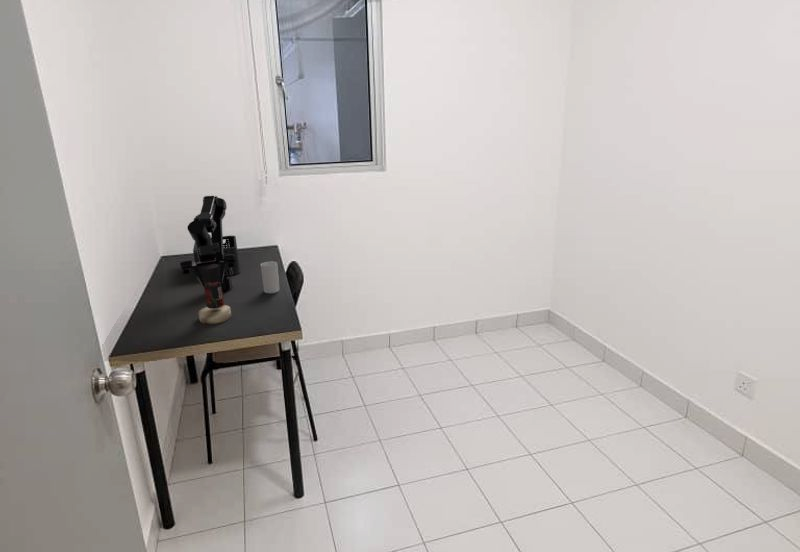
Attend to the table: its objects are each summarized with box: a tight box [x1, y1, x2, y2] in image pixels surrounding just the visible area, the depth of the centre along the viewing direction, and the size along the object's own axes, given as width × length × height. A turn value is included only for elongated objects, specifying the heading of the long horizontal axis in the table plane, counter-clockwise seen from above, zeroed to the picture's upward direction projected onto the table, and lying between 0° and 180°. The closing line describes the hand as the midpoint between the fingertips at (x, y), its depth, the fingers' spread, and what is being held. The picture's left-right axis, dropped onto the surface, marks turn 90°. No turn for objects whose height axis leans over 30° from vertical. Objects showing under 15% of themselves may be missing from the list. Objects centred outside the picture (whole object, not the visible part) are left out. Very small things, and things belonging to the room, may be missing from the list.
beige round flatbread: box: [198, 304, 232, 325], centre depth 181 cm, size 11×11×3 cm
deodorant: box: [201, 264, 225, 309], centre depth 177 cm, size 6×6×15 cm
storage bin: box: [192, 235, 241, 277], centre depth 239 cm, size 29×19×13 cm
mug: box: [260, 261, 280, 294], centre depth 207 cm, size 10×7×12 cm, turn 9°
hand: (212, 284), depth 176 cm, fingers closed on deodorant, 6 cm apart
